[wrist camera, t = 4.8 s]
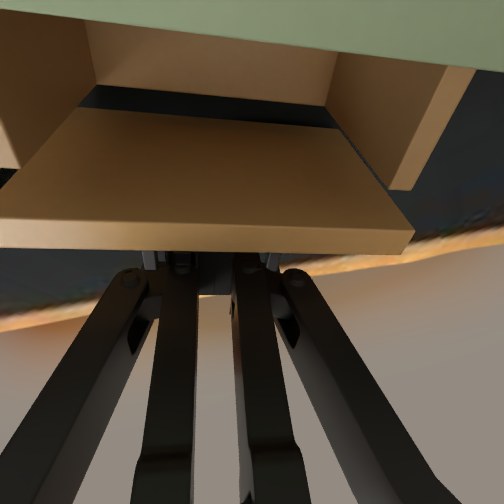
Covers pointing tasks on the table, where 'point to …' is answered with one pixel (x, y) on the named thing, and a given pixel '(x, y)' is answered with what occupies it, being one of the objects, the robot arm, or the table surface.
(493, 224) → the table surface
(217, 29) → the cabinet
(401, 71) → the drawer
